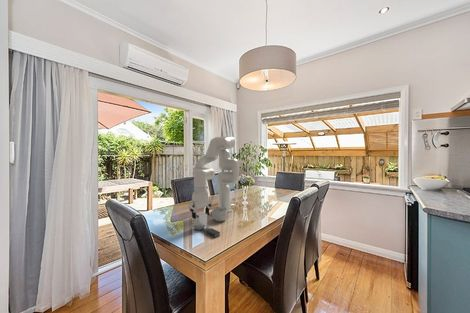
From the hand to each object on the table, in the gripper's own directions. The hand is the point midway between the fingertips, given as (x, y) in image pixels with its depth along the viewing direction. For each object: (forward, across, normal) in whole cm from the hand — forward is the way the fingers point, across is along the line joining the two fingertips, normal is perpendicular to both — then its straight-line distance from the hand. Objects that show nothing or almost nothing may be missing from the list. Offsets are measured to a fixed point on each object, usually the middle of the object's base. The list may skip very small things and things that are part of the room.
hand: (200, 216), depth 128 cm
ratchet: (+7, +1, +7) cm, 10 cm away
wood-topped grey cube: (+5, 0, 0) cm, 5 cm away
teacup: (+8, -20, -5) cm, 22 cm away
